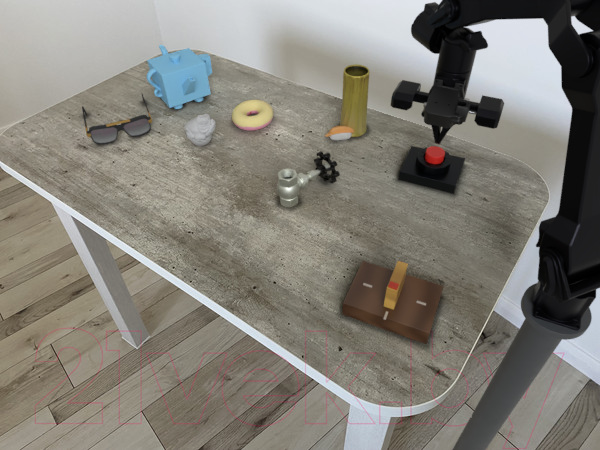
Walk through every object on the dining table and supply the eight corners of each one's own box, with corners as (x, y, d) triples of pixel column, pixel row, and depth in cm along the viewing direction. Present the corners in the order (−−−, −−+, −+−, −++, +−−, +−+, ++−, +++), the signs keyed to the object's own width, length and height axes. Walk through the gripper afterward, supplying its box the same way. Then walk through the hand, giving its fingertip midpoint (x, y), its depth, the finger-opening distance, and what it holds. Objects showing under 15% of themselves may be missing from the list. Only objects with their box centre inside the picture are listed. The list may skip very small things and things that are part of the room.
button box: (463, 166, 98) (467, 150, 95) (453, 194, 92) (458, 178, 89) (409, 154, 101) (412, 138, 98) (397, 179, 96) (400, 163, 93)
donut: (277, 121, 115) (242, 109, 116) (280, 103, 112) (244, 91, 113) (261, 139, 107) (223, 126, 109) (264, 120, 104) (225, 107, 106)
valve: (290, 215, 89) (339, 187, 94) (289, 188, 84) (340, 160, 90) (269, 196, 93) (317, 171, 98) (267, 170, 88) (317, 144, 93)
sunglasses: (144, 101, 118) (139, 83, 115) (156, 134, 108) (150, 115, 105) (85, 114, 115) (78, 96, 111) (92, 150, 105) (84, 130, 101)
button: (445, 155, 95) (447, 148, 94) (441, 166, 92) (442, 159, 91) (427, 151, 96) (428, 144, 95) (422, 161, 94) (424, 154, 92)
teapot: (168, 123, 111) (156, 79, 103) (140, 90, 122) (128, 47, 114) (229, 102, 117) (222, 58, 109) (198, 72, 128) (190, 30, 120)
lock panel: (440, 295, 76) (444, 283, 74) (425, 346, 70) (429, 334, 67) (362, 270, 80) (363, 258, 77) (341, 316, 74) (342, 304, 71)
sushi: (355, 140, 105) (355, 128, 103) (326, 143, 105) (326, 131, 102) (352, 133, 107) (352, 121, 105) (323, 136, 106) (324, 124, 104)
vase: (341, 120, 111) (344, 61, 100) (368, 123, 109) (373, 64, 99) (336, 135, 106) (338, 76, 96) (364, 139, 105) (369, 79, 95)
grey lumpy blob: (216, 152, 103) (211, 125, 98) (184, 151, 104) (177, 124, 99) (221, 136, 107) (217, 108, 102) (191, 135, 108) (185, 107, 103)
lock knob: (394, 279, 74) (397, 259, 71) (404, 282, 74) (408, 262, 71) (383, 306, 71) (386, 286, 68) (393, 310, 71) (397, 290, 67)
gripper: (386, 77, 78) (377, 155, 89) (506, 100, 72) (480, 180, 83) (404, 48, 85) (394, 123, 96) (515, 67, 79) (491, 144, 90)
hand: (437, 142), depth 91 cm, fingers closed
